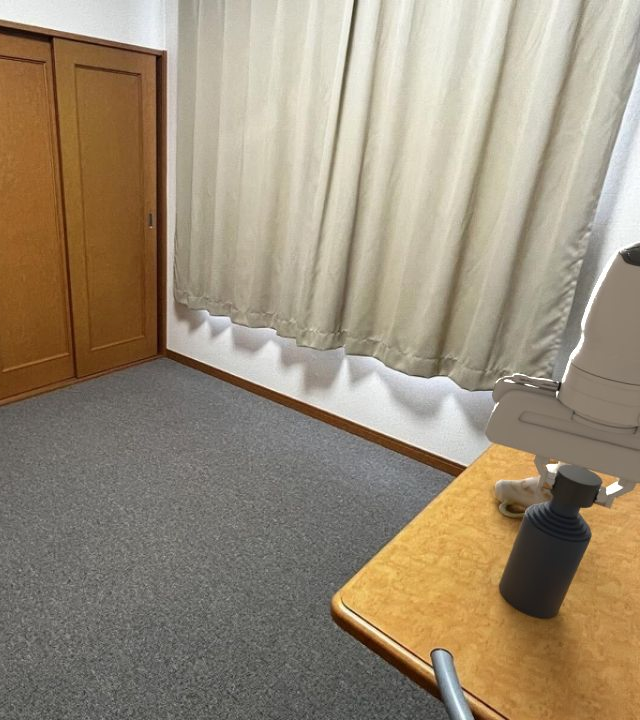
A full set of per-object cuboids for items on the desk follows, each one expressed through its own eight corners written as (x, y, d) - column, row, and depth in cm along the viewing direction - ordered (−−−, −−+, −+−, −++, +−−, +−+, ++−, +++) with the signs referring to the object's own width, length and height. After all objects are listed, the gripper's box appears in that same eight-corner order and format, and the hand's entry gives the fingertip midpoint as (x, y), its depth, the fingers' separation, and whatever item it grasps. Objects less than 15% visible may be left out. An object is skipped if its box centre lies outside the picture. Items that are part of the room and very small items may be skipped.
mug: (485, 486, 86) (531, 449, 82) (537, 528, 82) (588, 492, 78) (483, 499, 80) (532, 460, 76) (538, 545, 76) (593, 507, 72)
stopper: (593, 513, 55) (603, 490, 54) (548, 499, 57) (557, 476, 56) (592, 495, 58) (601, 472, 57) (550, 482, 60) (558, 460, 59)
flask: (540, 580, 67) (583, 476, 60) (569, 622, 61) (620, 512, 54) (489, 575, 68) (525, 472, 61) (513, 615, 62) (556, 506, 55)
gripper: (495, 379, 56) (468, 475, 61) (759, 434, 44) (696, 548, 49) (501, 361, 60) (476, 453, 66) (742, 408, 48) (686, 515, 54)
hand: (572, 494), depth 57 cm, fingers closed on stopper, 4 cm apart
